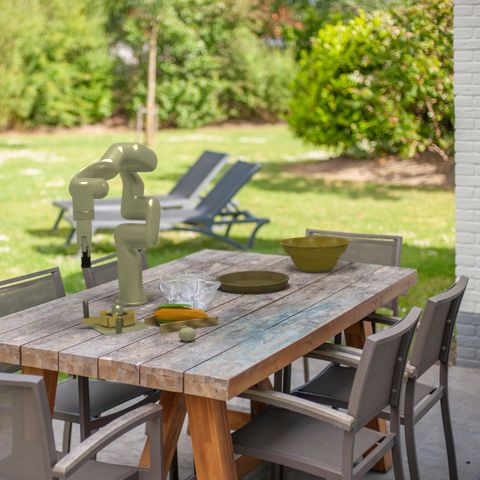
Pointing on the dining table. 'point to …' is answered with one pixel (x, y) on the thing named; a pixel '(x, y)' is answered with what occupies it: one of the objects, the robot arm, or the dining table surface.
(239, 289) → the plant saucer
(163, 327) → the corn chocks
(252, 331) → the dining table surface
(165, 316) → the corn
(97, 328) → the housing plate
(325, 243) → the planter bowl
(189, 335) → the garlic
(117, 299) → the robot arm
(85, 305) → the tan angular piece
